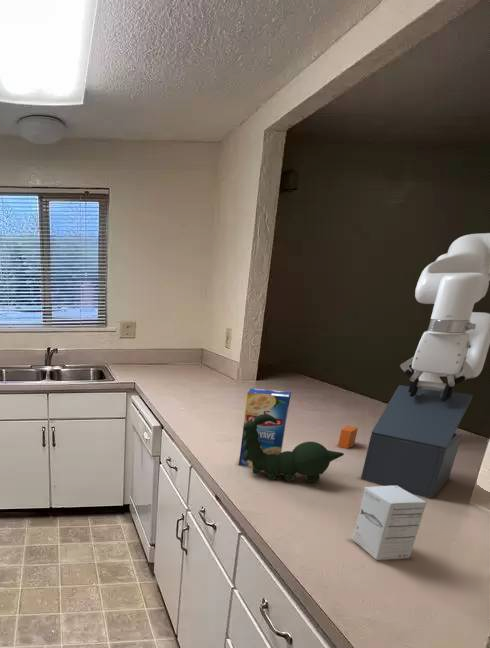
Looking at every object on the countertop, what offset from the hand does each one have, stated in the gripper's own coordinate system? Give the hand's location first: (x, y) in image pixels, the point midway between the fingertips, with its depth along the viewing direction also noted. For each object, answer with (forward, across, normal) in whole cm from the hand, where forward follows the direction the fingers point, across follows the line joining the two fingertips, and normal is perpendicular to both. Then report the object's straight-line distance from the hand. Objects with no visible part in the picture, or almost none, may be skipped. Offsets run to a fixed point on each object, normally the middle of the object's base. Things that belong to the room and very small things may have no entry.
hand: (428, 397), depth 113 cm
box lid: (+4, 0, +3) cm, 5 cm away
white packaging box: (+22, -7, +46) cm, 52 cm away
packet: (+23, +21, -15) cm, 34 cm away
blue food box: (+23, +32, +22) cm, 45 cm away
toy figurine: (+23, +22, +26) cm, 41 cm away
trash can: (+23, 0, +2) cm, 23 cm away
